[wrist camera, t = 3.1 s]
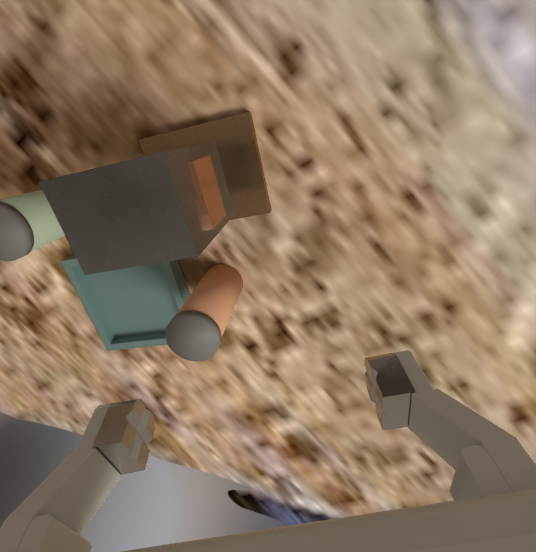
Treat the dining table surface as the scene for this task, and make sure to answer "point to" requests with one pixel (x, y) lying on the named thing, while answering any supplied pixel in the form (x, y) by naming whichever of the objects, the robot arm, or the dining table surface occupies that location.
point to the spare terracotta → (205, 314)
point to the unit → (162, 196)
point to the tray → (130, 301)
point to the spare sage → (26, 225)
